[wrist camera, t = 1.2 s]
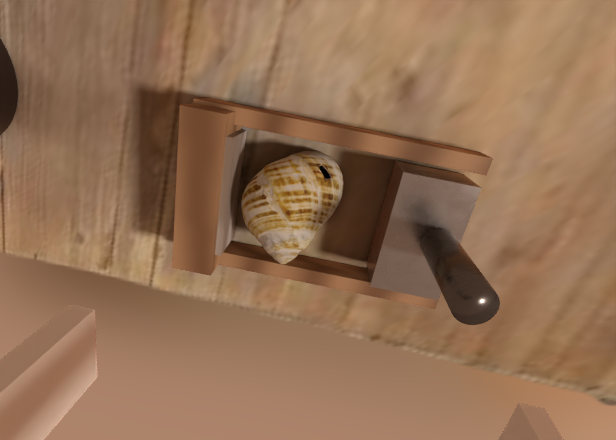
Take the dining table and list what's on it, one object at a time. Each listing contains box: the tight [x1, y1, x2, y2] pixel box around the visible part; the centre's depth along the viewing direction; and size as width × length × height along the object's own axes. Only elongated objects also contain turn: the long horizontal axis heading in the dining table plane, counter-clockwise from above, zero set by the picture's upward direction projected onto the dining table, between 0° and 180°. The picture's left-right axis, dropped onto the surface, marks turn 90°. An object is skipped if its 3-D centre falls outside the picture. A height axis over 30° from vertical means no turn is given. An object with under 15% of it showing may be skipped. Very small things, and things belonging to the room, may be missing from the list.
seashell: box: [241, 150, 343, 264], centre depth 36 cm, size 10×10×10 cm
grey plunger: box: [367, 161, 500, 325], centre depth 31 cm, size 7×12×15 cm, turn 169°
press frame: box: [172, 97, 493, 309], centre depth 36 cm, size 28×17×6 cm, turn 79°
